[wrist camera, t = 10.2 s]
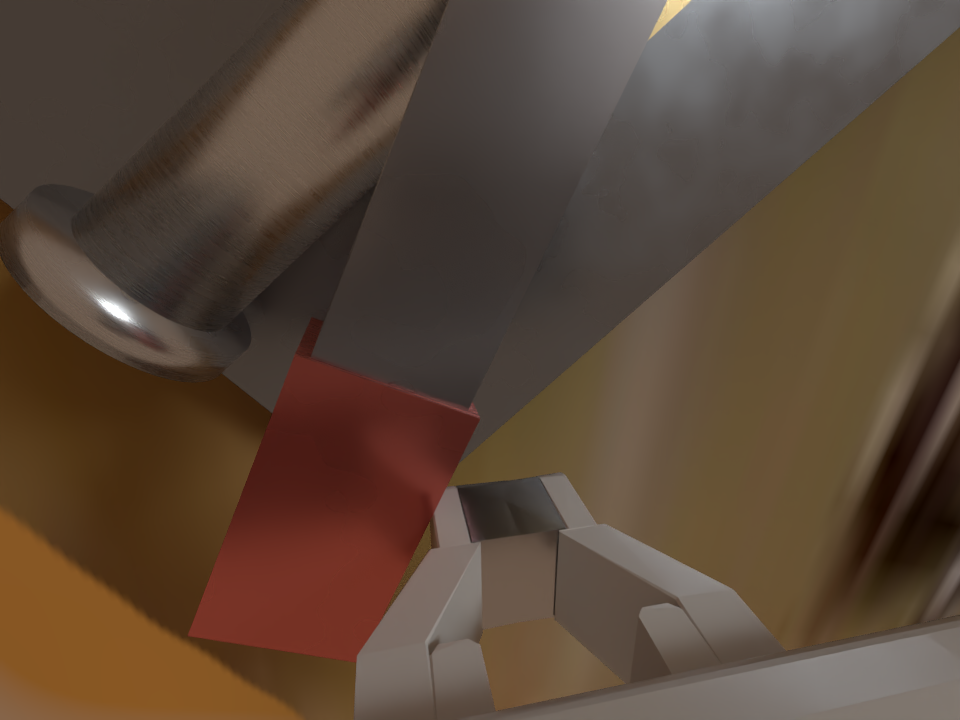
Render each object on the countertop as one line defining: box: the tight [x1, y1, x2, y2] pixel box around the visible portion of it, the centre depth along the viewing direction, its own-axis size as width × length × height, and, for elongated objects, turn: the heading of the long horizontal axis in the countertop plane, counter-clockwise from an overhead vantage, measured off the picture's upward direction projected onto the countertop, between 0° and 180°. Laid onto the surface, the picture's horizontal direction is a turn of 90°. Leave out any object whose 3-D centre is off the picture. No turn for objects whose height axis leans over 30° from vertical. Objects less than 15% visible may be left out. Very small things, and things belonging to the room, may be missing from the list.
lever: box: [188, 0, 667, 663], centre depth 8 cm, size 17×4×4 cm, turn 155°
